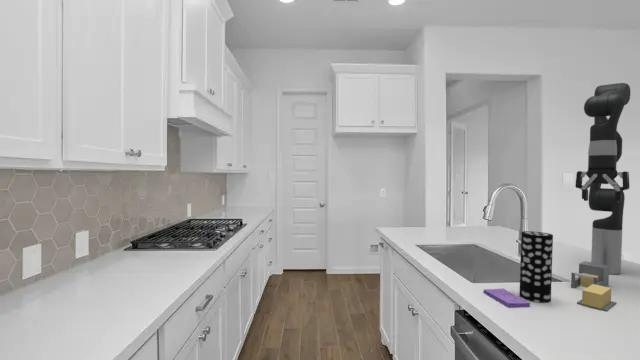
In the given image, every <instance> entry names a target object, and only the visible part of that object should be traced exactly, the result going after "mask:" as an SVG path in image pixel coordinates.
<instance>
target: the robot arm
mask: <svg viewBox="0 0 640 360" xmlns="http://www.w3.org/2000/svg"><path fill="white" fill-rule="evenodd" d="M630 100H631V87H630V85H629V84H628V83H625V82H618V83H610V84H609V83H608V84H601V85H598V86H596V88H595V89H594V93H593V96H590V97H588V98H587V99H586V101H585V102H584V105H583V111H584V113H585V115H586V116H588V117H590V118H594V121H593V122H594V124H592V125H591V126H590V128H589V129H590V130H589V144H588V152H587V155H588V159H587V160H588V162H587V171H582V170H578V171H577V172H576V177H575V188H577V189H579V190H581V199H582V200H583V201H585V202H588V207H589V209H590V210H591V211H595V212H596V211H597V212H598V211H599V212H609V213H611V215H609V216H607V217H603V218H600V219H599V218H598V219H594V220H593V221H592V225H591V226H592V227H591V228H592V231H591V234H592V235H591V255H590V256H591V258H590V259H591V260H590V262H592V263H597V264H603V265H609V275H620V274H621V272H622V245H623V221H624V208H625V207H624V206H625V200H626V199H625V197H626V196H625V192H624V191H626V190H629V189H630V173H629V171H627V170H626V171H618V170H617V163H618V162H619V161H620V159H621V157H622V155H623V138H622V136H621V134H620V132H619V131H618V124H619V122H620V121H619V120H620V117H621V115H622V112H623V110H624V107H625V106H626V105H628V104H629V102H630ZM585 176H586V177H588V180H587V181H585V183H584V184H583V178H585ZM618 176H619V177H620V179H621V180H622V186H620V184H619V183H618V182H617V181H616V180H615V179H616V178H617V177H618ZM602 185H610V186H611V187H613V188H606V187H605V188H603V187H602Z"/></svg>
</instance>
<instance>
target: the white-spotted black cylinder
mask: <svg viewBox="0 0 640 360" xmlns="http://www.w3.org/2000/svg"><path fill="white" fill-rule="evenodd" d="M520 233H521V234H520V260H519V261H520V263H519V265H520V267H519V293H518V294H519V297H520V298H521V299H524V300H526V301H528V302H535V303H550V302H551V301H552V274H553V270H552V269H553V250H554V249H553V247H554V246H553V242H554V235H553V234H552V233H549V232H542V231H541V232H540V231H533V230H532V231H530V230H525V231H520Z"/></svg>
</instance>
